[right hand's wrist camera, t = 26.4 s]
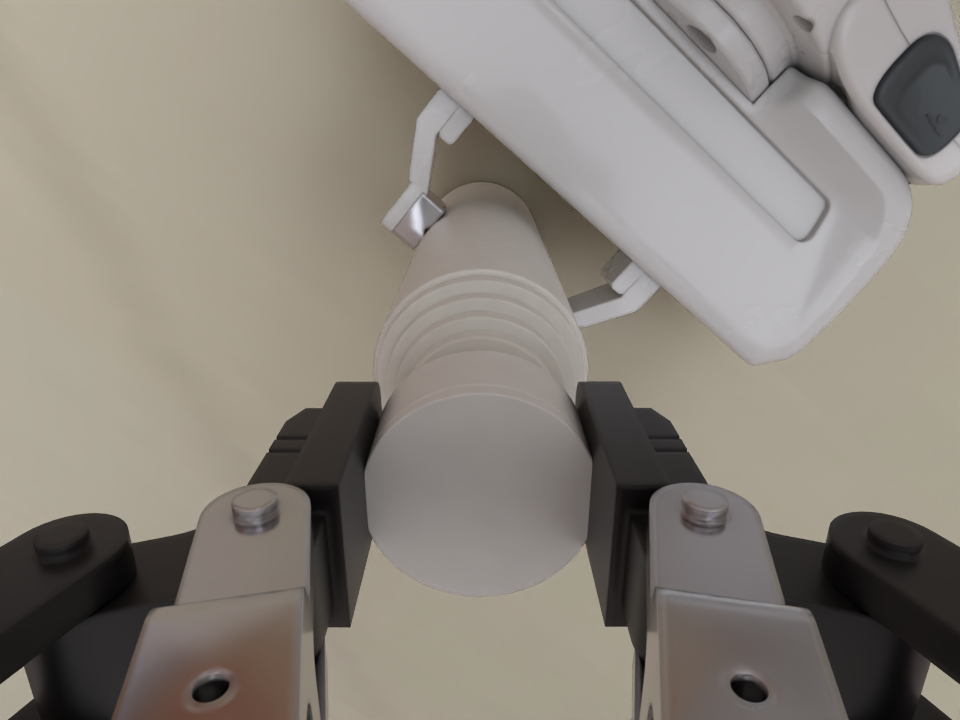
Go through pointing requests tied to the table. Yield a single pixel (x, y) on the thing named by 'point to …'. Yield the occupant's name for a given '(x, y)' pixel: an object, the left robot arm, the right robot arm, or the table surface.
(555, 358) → the bottle
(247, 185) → the table surface
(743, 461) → the table surface
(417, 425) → the cap
